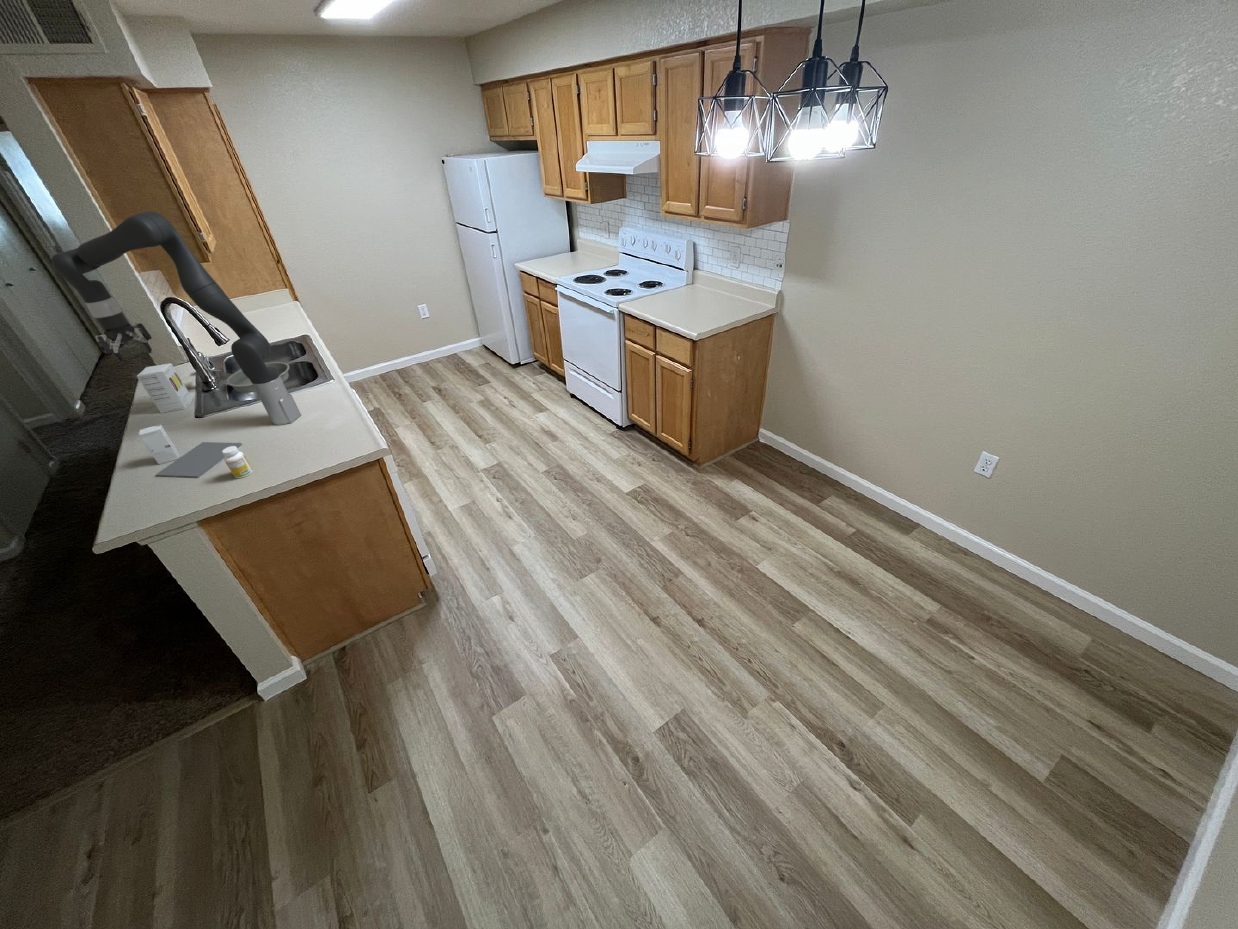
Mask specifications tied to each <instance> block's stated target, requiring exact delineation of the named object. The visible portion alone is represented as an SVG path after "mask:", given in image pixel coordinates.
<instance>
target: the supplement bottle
mask: <svg viewBox="0 0 1238 929" xmlns="http://www.w3.org/2000/svg"><path fill="white" fill-rule="evenodd" d="M222 452H223V454H224V456H225V457H224V459H223V461H224V462H225V464H226V466H227V467H228V469H229V470H230V473H231V474H232V476H234V478H236V479H241V478H245V477H248V476H250V475H251V474H252V473H253V471H254V470H253V467H252V466H251V464H250V463H249V461H248V459H247V457H246V456H245V454H244V453H243V452H242V451H240V450H239V448H237V447H236V446H230V447H227V448H225V449H224V450H223V451H222Z"/></svg>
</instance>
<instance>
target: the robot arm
mask: <svg viewBox="0 0 1238 929" xmlns="http://www.w3.org/2000/svg"><path fill="white" fill-rule="evenodd" d="M158 246H160V247H161V248H162V249H163V250H164V251H165V252H166V253H167V255H168V256H169V257H170V259H171V260H172V262H173V265H175V269H176V271H177V272H176V273H177V274H178V275H177V276H178V278H179V281H180V282H179V283H180V285H181V287H182V289H183V291H184V292H185V293H186V294H187V296H188V297H189V298H190V299H191V300H192V301H193V303H194V304H195V305H196V306H197V308H199V309H201V311H203V312H204V313H206V314H208V315H209V316H212V317H213V318H215V319H217V320H219V321H221V322H222V323H224V324H226V325H227V326H228V327H229V328H230V329H231V330H232V331H233V332H234V333H235V334H236V335H237V337H238V339H236V340H235V341H234V342H233V343H232V344H231V346H230V347H231V348H230V349H231V350H230V351H231V354H232V356H233V357H234V360H235V361H236V364H237V365H238V366H239V368H240V370H242V371H243V373H244V374H245V375H246V377H248V378H249V379H250V381H251V383H252V384H253V386H254V388H255V390H256V392H255V393H256V394H257V395H258V398H259V399H260V400H259V401H261V403H262V405H263V407H264V409H265V411H266V413H267V414H268V417H269V418H270V420H271V422H272V424H273V425H276V426H281V425H287V424H292V423H293V422H295V421H296V420H298V418H300V417H301V416H302V414H301V411H300V410H299V409H300V408H299V406H297V403H296V401H295V399H294V397H293V394H292V393H289V391H288V389H287V388H286V385H285V384H284V382H283V381H282V379H281V377H280V372H278V371H277V369H276V368H274V367H266V365H265V363H266V362H264V359H266V357H268V356H269V355H270V354H271V352H272V346H271V344H270V342H269V340H268V339H267V338H266V337H265V336H264V334H262V333H261V332H260V331H259V329H257V328H256V326H255V325H253V323H251V322H250V321H249V319H247V317H246V316H245V315H244V314H243V313H242V312H241V311H240V309H239V308H238V307H237V306H236V304H234V302H233V301H232V300H231V299H230V298H229V296H228V295H227V294H226V292H225V291H224V290H223V289H222V288H221V286H220V285H219V284H218V283H217V282H216V280H215V279H214V278H213V277H212V276H211V275H210V273H209V272H208V271H207V270H206V268H205V267H204V266H203V265H202V263H201V262H200V261H199V260H198V259H197V257H196V256H195V254H194V253H193V252H192V251H191V249H190V248H189V247H188V245H187V243H186V242H185V241H184V239H183V237H182V236H181V235H180V234H179V232H178V230H177V229H176V228H175V227H174V225H173V223H172V222H171V221H169V219H168V218H167V217H166V216H164V215H163V214H161V213H159V212H156V211H145V212H142V213H141V212H140V213H136V214H132V215H130V216H128V217H127V218H126V219H124V220H123V221H122V222H121V223H120V224H119V225H117V226H116V227H115V228H113V229H112V230H111V231H109V232H107V233H105V234H102V235H99V236H98V237H97V236H96V237H94V238H92V239H90V240H88V241H85V242H83V243H82V244H80V245H79V246H78V247H77V248H73V249H70V250H66V251H62V252H58V253H55V254H54V255H52V257H51V264H52V267H53V269H54V271H56V272H57V274H59V276H61V277H62V278H63V279H64V280H65V281H67V283H68V284H69V285H70V286H72V287H73V288H74V289H75V290H76V291H77V292H78V294H79V296H80V297H81V298H82V300H83V301H84V303H85V305H86V307H87V309H88V310H89V312H90V314H91V316H92V317H93V318H94V319H95V321H96V322H97V324H98V325H99V326H100V328H101V330H102V331H103V334H101V335H94V337H93V338H94V340H95V341H96V343H97V345H99V347H100V349H101V351H102V353H105V354H111V355H113V357H114V359H115V360H116V361H117V362H120V363H126V360H125V358H124V357H123V356H122V354H121V352H119V348H120V347H121V346H120V345H121V344H124V343H126V342H129V341H133V340H136V341H138V342H140V345H141V346H142V348H143V349H144V351H145V352H146V353H147V354H152V353H153V352H152V351H153V350H152V347H151V346H150V344H149V343H148V341H149V340H151V339H152V336H151V334H150V333H149V332H148V330H147V329H146V327H145V325H144V324H143V323H140V322H135V323H134V324H130V322H129V320H128V318H127V317H126V316H125V314H124V312H123V311H122V309H121V307H120V306H119V305H118V303H117V302H116V300H114V298H113V297H112V295H111V294H110V292H109V291H108V289H107V288H106V286H105V285H104V284H103V282H102V281H100V280H97V279H90V280H89V279H88V277H86V276H85V275H84V274H88V273H90V272H93V271H95V270H97V269H99V268H100V267H102V266H104V265H106V264H109V263H112V262H113V261H115V260H118V259H119V258H121V257H122V256H123V255H125V254H126V253H128V252H130V251H135V250H141V249H145V248H146V249H147V248H154V247H158ZM135 330H136V331H139V332H140V335H141V336H140V335H138V334H136V333H135ZM107 339H108V340H110V341H109V345H110V346H108V344H107V342H106V341H107Z"/></svg>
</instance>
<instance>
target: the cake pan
mask: <svg viewBox="0 0 1238 929" xmlns="http://www.w3.org/2000/svg"><path fill="white" fill-rule="evenodd" d="M264 363H265V365H266V367H274V368H276V369H277V371H278V373H279V375H280V377H281V379H282V381H283V383H284V382H286V381H287V380H288V379H289V376H290V375H289V374H290V373H289V370H290V365H289V364H288V363H287V362H281V361H270V362H264ZM226 384H227V385H228V386H231V387H232V388H233V389H234V390H235V391H236V392H238V393H243V394H252V393H257V392H256V390H255V388H254V386H253V384H252V383H251V381H250V379H249V378H248V377H246V375H245V374H244V373H243V371H242V370H241V369H239V370H237V371H236V372H234V373H232V374H231V375H229V376H228V377H227V379H226Z"/></svg>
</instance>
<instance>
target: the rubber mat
mask: <svg viewBox="0 0 1238 929" xmlns="http://www.w3.org/2000/svg"><path fill="white" fill-rule="evenodd" d="M242 445H243V443H242V442H221V441H219V442H217V441H216V442H213V441H212V442H210V441H202V442H200V443H198V444H197V445H196V446H195V447H194V448H192V449H189V451H187V452H186V453H184V454H183V455H182V456H179V458H178V459H176V460H174V461H172V462H171V463H170V464H168V465H167V466H166V467H165V468H163V469H161V470H160V471H159V472H157V473H156V474H155V477H163V478H164V477H165V478H168V477H169V478H191V479H192V478H193V479H196V478H197V479H198V478H200V477H201V476H203V475H204V474H205V473H206V472H208V471H210V470H211V469H213V467H214V466H216V465H217V464H218V463H220V462H221V461H223V460H224V457H225V456H224V454H223V452H222V451H223V450H224V449H225V448H227V447H230V446H236V447H237V449H239V447H241V446H242Z"/></svg>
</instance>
